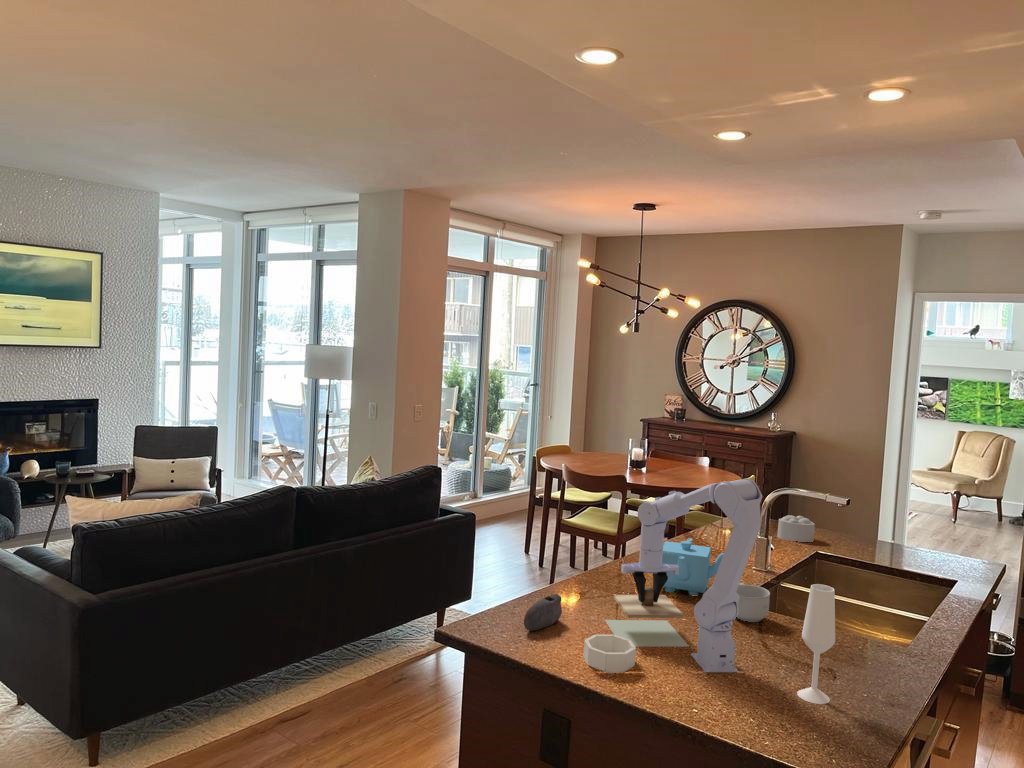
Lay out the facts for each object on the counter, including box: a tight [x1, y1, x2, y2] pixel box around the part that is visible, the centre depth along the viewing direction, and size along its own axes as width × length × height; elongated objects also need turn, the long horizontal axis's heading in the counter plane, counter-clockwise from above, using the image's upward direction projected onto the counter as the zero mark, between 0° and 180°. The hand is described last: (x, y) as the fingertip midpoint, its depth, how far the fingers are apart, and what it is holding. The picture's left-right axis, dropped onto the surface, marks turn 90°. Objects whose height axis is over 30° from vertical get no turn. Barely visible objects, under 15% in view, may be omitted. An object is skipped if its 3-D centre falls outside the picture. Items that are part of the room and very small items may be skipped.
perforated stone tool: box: [523, 593, 563, 632], centre depth 200 cm, size 15×5×7 cm, turn 141°
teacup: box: [736, 582, 771, 623], centre depth 215 cm, size 14×11×8 cm
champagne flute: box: [796, 583, 836, 705], centre depth 168 cm, size 7×7×24 cm
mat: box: [604, 619, 690, 648], centre depth 198 cm, size 17×17×1 cm
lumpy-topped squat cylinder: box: [776, 514, 816, 543], centre depth 305 cm, size 10×13×9 cm
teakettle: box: [662, 537, 724, 596], centre depth 235 cm, size 19×19×15 cm
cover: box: [613, 586, 685, 619], centre depth 198 cm, size 14×14×5 cm
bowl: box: [583, 634, 637, 674], centre depth 180 cm, size 11×11×4 cm
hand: (647, 601), depth 198 cm, fingers closed on cover, 3 cm apart
